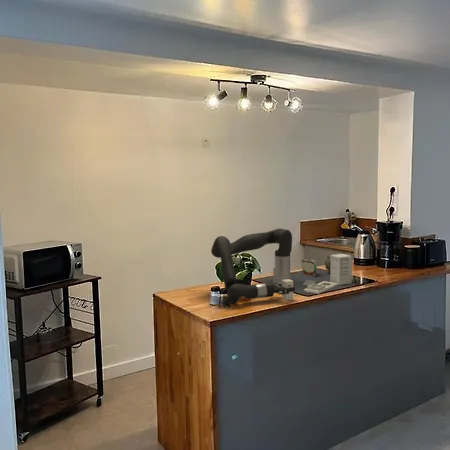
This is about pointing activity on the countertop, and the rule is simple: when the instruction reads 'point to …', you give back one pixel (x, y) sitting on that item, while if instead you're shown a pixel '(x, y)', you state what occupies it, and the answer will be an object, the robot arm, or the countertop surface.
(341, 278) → the supplement box
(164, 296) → the countertop surface
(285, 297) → the charger
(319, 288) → the pale grey tray
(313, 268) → the food container
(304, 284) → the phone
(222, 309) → the countertop surface
